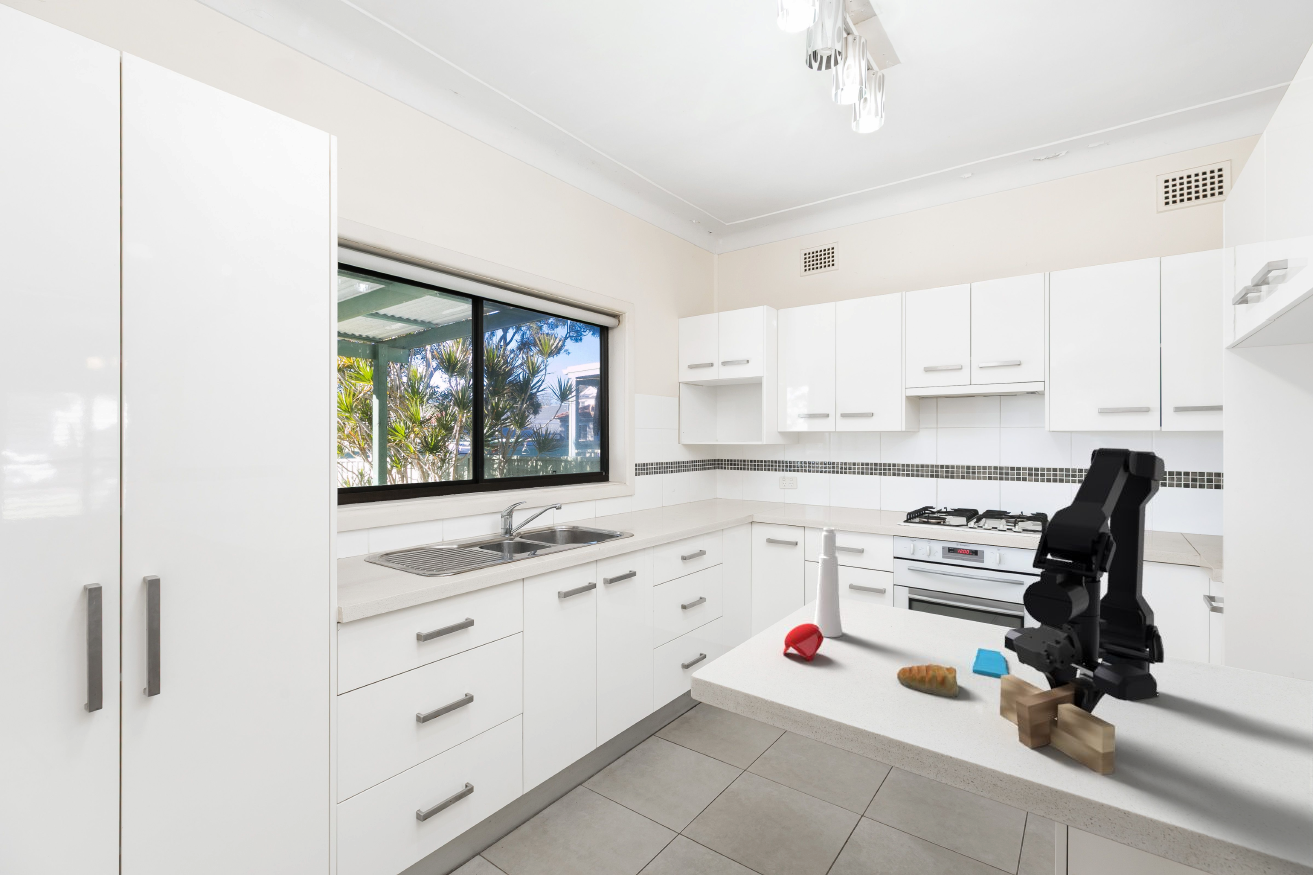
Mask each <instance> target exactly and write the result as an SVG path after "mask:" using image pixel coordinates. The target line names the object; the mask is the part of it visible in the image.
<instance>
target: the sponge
mask: <svg viewBox="0 0 1313 875" xmlns="http://www.w3.org/2000/svg"><path fill="white" fill-rule="evenodd" d="M976 654H977V655H975V660H974V662H973V664H972V673H973V674H976V673H978V675H981V674H982V675H981V676H986V675H987V676H986V677H991V676H993V677H992V678H997V679H1001V675H1010V674H1008V673H1009V668H1008V665H1007V661H1006V660H1007V659H1006V657H1005V656H1004V655H1002V653H1001V651H997V650H991V649H986V648H980V647H979V648H978V649H977V652H976Z"/></svg>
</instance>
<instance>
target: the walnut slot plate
mask: <svg viewBox="0 0 1313 875" xmlns="http://www.w3.org/2000/svg"><path fill="white" fill-rule="evenodd" d="M1069 703H1070V704H1072V705H1074V688H1073V686H1072V685H1071V684H1068V685H1064V686H1061V687H1058V688H1054V689H1051V688H1050V689H1047V690H1044V692H1040V693H1037V694H1034V695H1030V696H1027V697H1023V698H1020V699H1016V711H1017V722H1018V725H1017V730H1018V741H1019V743H1021V744H1023V745H1024V746H1026V747H1027V748H1029V749H1030V750H1033V749H1035V748H1036V749H1037V748H1039V747H1041V746H1045V745H1047V744H1049V743H1051V738H1050V726H1049V720H1052V719H1056V720H1058V705H1061V704H1069Z"/></svg>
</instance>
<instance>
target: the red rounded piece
mask: <svg viewBox="0 0 1313 875" xmlns="http://www.w3.org/2000/svg"><path fill="white" fill-rule="evenodd" d="M824 638H825V637H823V636H822V633H821V632H820V630H819V627H818V626H817V625H815V624H814V623H811V622H810V623H802V624H800V625H798V626H795V627H793V629H791V630H790V631H788V633H787V634H786V636H785V638H784V646H785V647H784V649H783V651H782V654H783V655H785V654H786V653H787V652H788V651H789V649H790V648H792V649H793V650H794V651H796V652H797V654H798V655H800V656H802V657H804V658H805V660H806V661H813V660H814V657H815V655H816V653H817V652H818V651H819V649H820V647H821V646H822V644H823V642H824Z"/></svg>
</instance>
